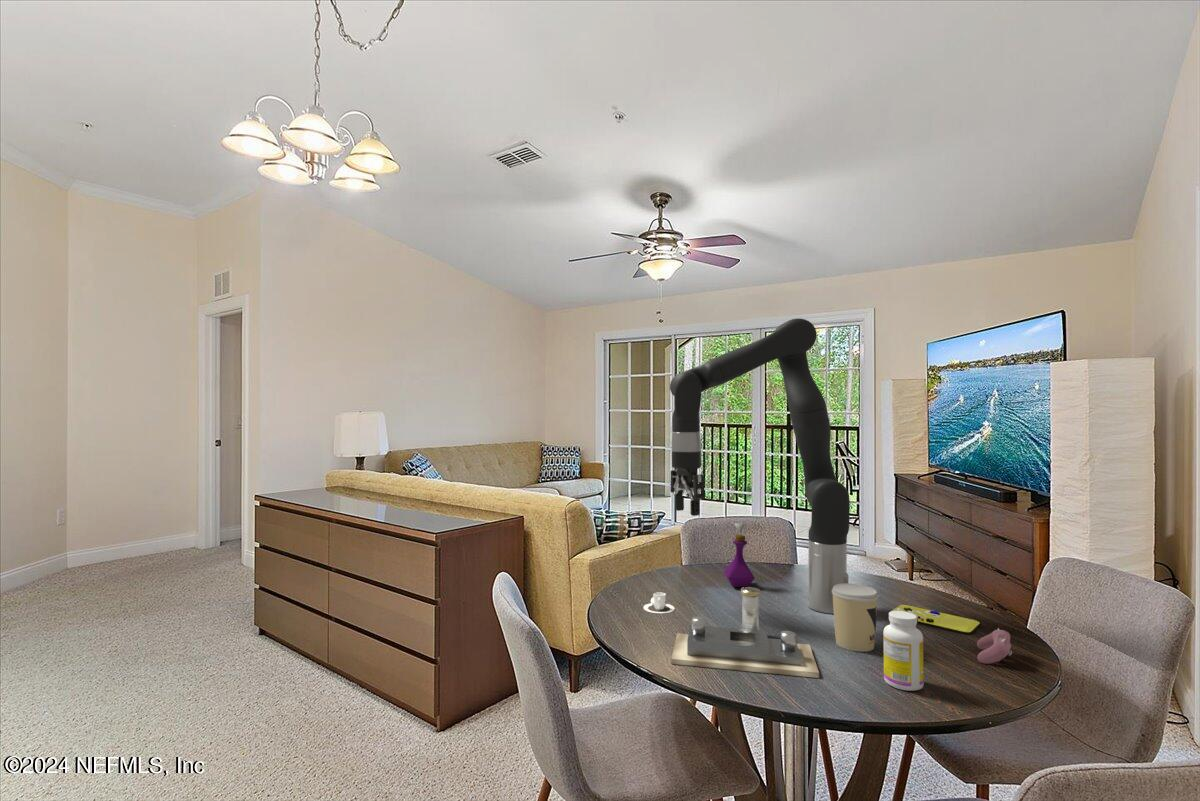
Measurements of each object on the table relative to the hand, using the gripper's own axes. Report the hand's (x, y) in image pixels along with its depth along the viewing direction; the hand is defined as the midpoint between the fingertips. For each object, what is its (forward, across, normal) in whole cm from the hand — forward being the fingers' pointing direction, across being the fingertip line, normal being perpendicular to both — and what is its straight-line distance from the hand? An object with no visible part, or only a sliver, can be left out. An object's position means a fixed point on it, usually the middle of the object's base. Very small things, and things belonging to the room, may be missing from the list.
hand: (687, 512), depth 153 cm
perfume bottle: (+25, +13, -23) cm, 37 cm away
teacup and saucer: (+25, +3, +4) cm, 26 cm away
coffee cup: (+25, -32, -23) cm, 47 cm away
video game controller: (+26, -47, -46) cm, 71 cm away
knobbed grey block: (+25, -30, +3) cm, 39 cm away
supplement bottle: (+25, -50, -18) cm, 59 cm away
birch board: (+25, -30, +3) cm, 39 cm away
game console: (+26, -26, -53) cm, 65 cm away
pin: (+25, -20, -5) cm, 32 cm away
